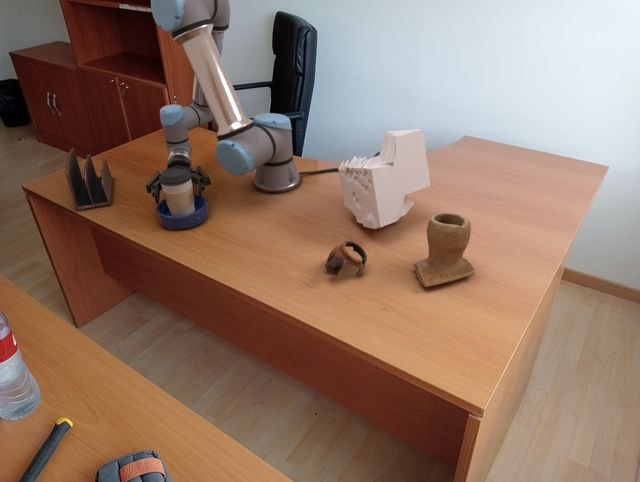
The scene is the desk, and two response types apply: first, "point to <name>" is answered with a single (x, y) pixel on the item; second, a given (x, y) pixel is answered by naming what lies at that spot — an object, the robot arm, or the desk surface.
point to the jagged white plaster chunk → (385, 179)
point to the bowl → (185, 220)
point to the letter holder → (88, 183)
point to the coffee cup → (178, 190)
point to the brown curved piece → (345, 258)
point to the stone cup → (445, 250)
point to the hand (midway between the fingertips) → (178, 197)
